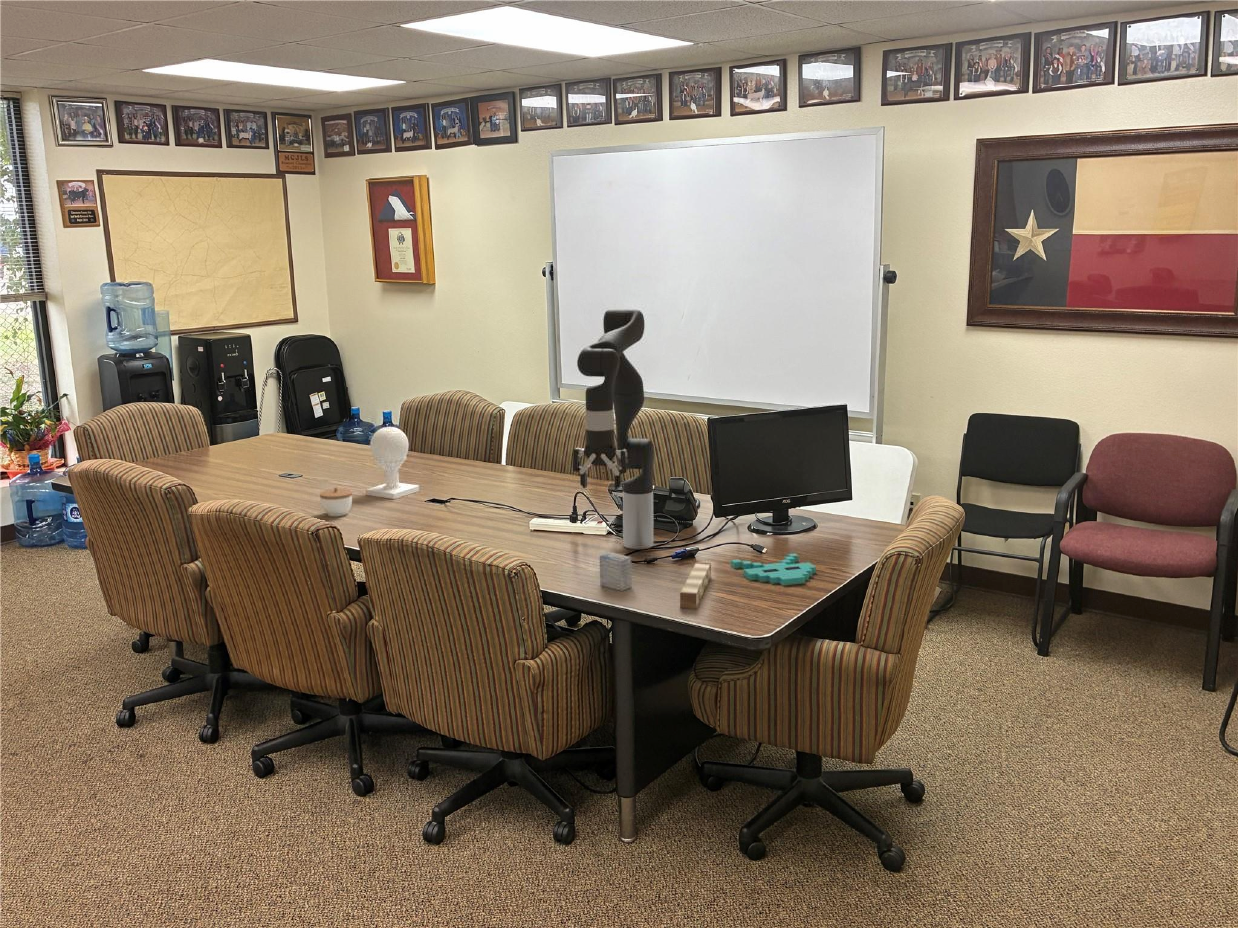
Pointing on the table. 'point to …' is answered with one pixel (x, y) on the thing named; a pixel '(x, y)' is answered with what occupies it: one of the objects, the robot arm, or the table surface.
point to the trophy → (390, 462)
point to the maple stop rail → (695, 585)
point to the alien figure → (777, 571)
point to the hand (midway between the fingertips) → (600, 488)
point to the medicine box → (615, 571)
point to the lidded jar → (336, 501)
